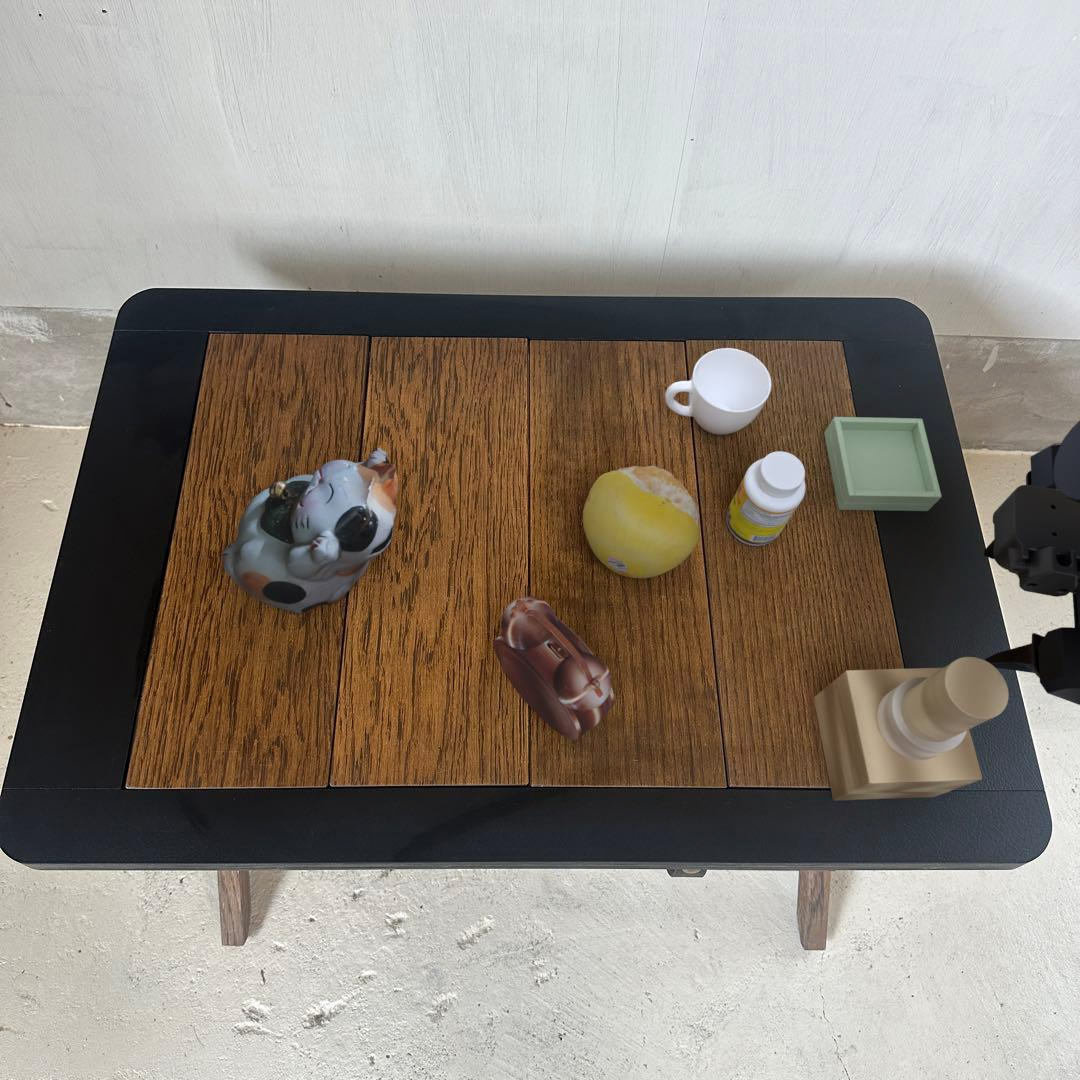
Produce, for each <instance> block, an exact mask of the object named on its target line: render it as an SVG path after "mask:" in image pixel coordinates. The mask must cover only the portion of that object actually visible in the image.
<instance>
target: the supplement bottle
mask: <svg viewBox="0 0 1080 1080" xmlns="http://www.w3.org/2000/svg"><path fill="white" fill-rule="evenodd" d="M805 478H806V470H805V467H804V464H803V463H802V461H801V460H800V459H799V458H798V457H797V456H795V455H794V454H792V453H791V452H787V451H782V450H781V451H780V450H779V451H778V450H777V451H773V452H770V453H768V454H767V455H766V456H765V457H763V458H760V459H757V460H756V461H754V462H753V463H752V464H751V465H750V466H749V467H748V469H747V470H746V472H745V474H744V476H743V478H742V480H741V482H740V484H739V486H738V488H737V490H736V492H735V494H734V496H733V498H732V500H731V502H730V504H729V506H728V508H727V511H726V525H727V528H728V530H729V531H730V533H731V535H732V536H733V537H735V538H736V539H737V540H738V541H740V543H743V544H746V545H749V546H753V547H759V546H765V545H768V544H771V543H772V542H774V541H775V540H776V539H777V538H778V537H779V535H780V534H781V532H782V531H783V530H784V528H785V526H786V525H787V524H788V523H789V520H790V519H791V518H792V516H793V515H794V513H795V512H796V510H797V509H798V507H799V505H800V504H801V502H802V501H803V499H804V497H805V495H806V481H805Z"/></svg>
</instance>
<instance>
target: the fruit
mask: <svg viewBox="0 0 1080 1080" xmlns="http://www.w3.org/2000/svg"><path fill="white" fill-rule="evenodd" d="M699 520H700V512H699V509H698V505H697V504H696V501H695V499H694V498H693V497H692V496H691V494H690V493H689V492H688V489H687V488H686V487H685V485H684V484H683V483H682V482H680V481H679V479H677V478H675V476H674V475H673V474H672V472H670V471H668V470H666V469H664V468H660V467H658V466H657V465H647V466H638V465H632V466H628V467H619V468H618V469H616V470H611V471H609V472H605V473H603V474H601V475H599V477H598V478H597V479H596V480H595V481H594V483H593V484H592V487H591V488H590V490H589V492H588V494H587V497H586V500H585V502H584V507H583V510H582V525H583V530H584V534H585V537H586V539H587V543H588V545H589V547H590V549H591V550H592V552H593V554H594V556H595V557H596V558H597V559H598V560H599V562H601V564H603V565H604V566H605V567H606V568H608V570H610V571H611V572H613V573H615V574H618V575H621V576H623V577H627V578H631V579H650V578H655V577H658V576H661V575H664V574H665V573H668V572H670V571H671V570H673V569H674V568H676V567H678V566H679V565H680V564H682V563H683V562H684V561H686V559H687V558H688V557H689V556H690V555H691V553H692V552H693V551H694V550H695V548H696V546H697V544H698V542H699V539H700V533H701V531H700V526H699V522H700V521H699Z"/></svg>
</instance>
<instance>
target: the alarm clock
mask: <svg viewBox="0 0 1080 1080" xmlns="http://www.w3.org/2000/svg"><path fill="white" fill-rule="evenodd" d="M504 609H505V610H504V611H503V612H502V615H501V621H500V626H501V627H500V628H501V633H500V634H499V635H498V637H496V638H495V639H494V640H493V641H492V646H493V650H494V654H495V655H496V658H497V660H498V662H499V664H500V665H501V668H502V669H503V672H504V674H505V675H506V677H507V679H508V681H509V682H510V683H511V685H512V686H513V688H514V689H515V691H516V692H517V693H518V694H519V696H520V697H521V699H522V700H523V701H524V702H525V703H526V704H527V706H528V707H529V708H530V709H531V710H532V711H533V712H534V714H536V715H537V716H538V717H539V718H540V719H541V720H542V721H543V722H545V723H546V724H547V725H548V726H549V727H551V728H552V729H553V730H555V731H556V733H558V734H560V735H561V736H562V737H564V738H566V739H567V740H570V741H578V739H579V738H581V737H582V736H583V735H585V734H586V733H588V732H589V731H590V730H592V729H593V728H594V727H596V726H597V725H598V724H599V723H600V722H601V721H602V719H604V717H605V716H606V715H607V714H608V713H609V711H611V709H612V708H613V707H614V706H615V703H616V697H615V693H614V690H613V687H612V682H613V681H612V680H613V678H612V674H611V672H610V669H609V668H608V666H607V664H606V663H605V662H604V661H603V660H602V659H601V658H599V657H598V656H596V655H595V654H594V653H593V652H592V650H591V649H590V648H589V647H588V646H587V644H586V643H585V642H584V641H583V640H582V638H581V637H580V636H579V635H578V634H577V633H575V632H574V630H572V629H571V628H570V626H569V625H568V624H565V622H563V621H562V620H561V619H560V618H557V615H556V614H555V612H554V609H553V608H552V607H551V606H550V605H549V604H548V603H547V602H546V601H545V600H543V599H542V598H540V597H537V596H523V597H520V598H517V599H515V600H513V601H512V602H511V603H510V604H509V605H507V607H506V608H504Z"/></svg>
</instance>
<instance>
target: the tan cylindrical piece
mask: <svg viewBox="0 0 1080 1080" xmlns="http://www.w3.org/2000/svg"><path fill="white" fill-rule="evenodd" d="M942 668H943V669H941V670H940V671H938V672H936V673H935V674H933V675H932V676H930V677H929V678H928V677H916V678H912V679H909V680H907V681H905V682H903V683H902V684H900V685H899V686H898V687H896V688H895V689H893V690H892V691H890V692H889V693H887V694H886V695H885V696H884V697H883V699H882V700H881V702H880V704H879V706H878V710H877V723H878V727H879V730H880V732H881V734H882V736H883V738H884V739H885V741H886V742H887V743H888V745H889V746H890V747H891V748H892V749H894V750H895V751H896V752H898V753H899V754H901V755H903V756H905V757H908V758H911V759H915V760H927V759H931V758H934V757H936V756H938V755H940V754H942V753H945V752H947V751H949V750H951V749H953V748H955V747H956V746H957V745H959V744H960V743H961V742H962V740H963V739H964V737H965V735H966V732H967V730H971V729H973V728H976V727H978V726H979V725H981V724H983V723H986V722H987V721H990V720H991V719H994V718H996V717H998V716H999V715H1000V714H1002V713H1003V712H1004V710H1005V709H1006V708H1007V705H1008V703H1009V698H1010V697H1009V696H1010V694H1009V687H1008V684H1007V682H1006V679H1005V678H1004V676H1003V674H1002V673H1001V671H1000V670H999V669H998V668H995V667H994V666H993V665H991V664H990V663H988V662H987V661H985V659H982V658H979V657H975V656H963V657H959V658H957V659H954V660H953V661H952V662H950V663H949V664H947V665H946V666H943V667H942Z"/></svg>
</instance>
